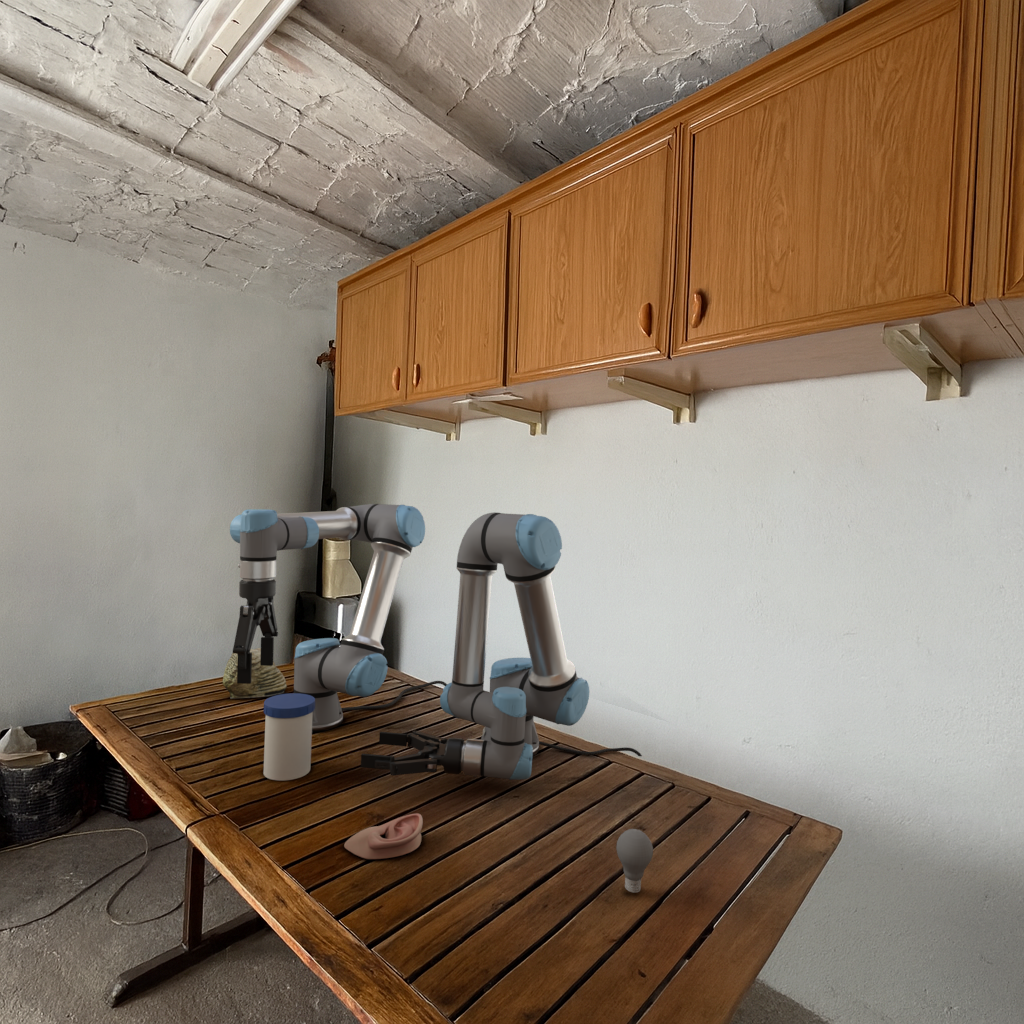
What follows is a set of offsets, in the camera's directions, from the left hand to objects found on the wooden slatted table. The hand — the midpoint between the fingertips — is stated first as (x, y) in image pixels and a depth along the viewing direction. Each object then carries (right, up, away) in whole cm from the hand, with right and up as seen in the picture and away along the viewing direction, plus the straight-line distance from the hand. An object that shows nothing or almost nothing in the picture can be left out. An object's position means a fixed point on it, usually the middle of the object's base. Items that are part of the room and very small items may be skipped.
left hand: (256, 673), depth 141 cm
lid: (+6, -8, +4) cm, 10 cm away
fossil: (-24, -21, +57) cm, 65 cm away
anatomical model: (+33, -25, -24) cm, 48 cm away
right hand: (+25, -18, +3) cm, 31 cm away
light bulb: (+77, -27, -35) cm, 89 cm away
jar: (+5, -23, +4) cm, 24 cm away
